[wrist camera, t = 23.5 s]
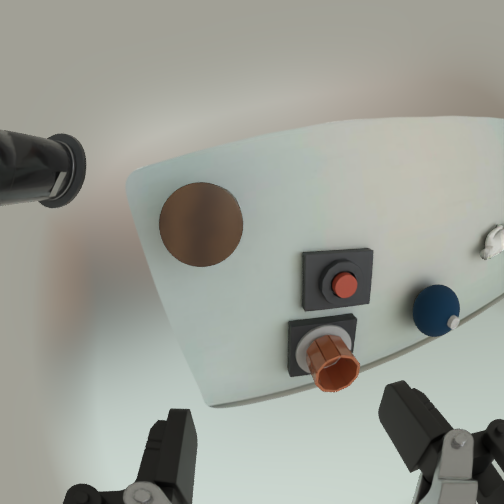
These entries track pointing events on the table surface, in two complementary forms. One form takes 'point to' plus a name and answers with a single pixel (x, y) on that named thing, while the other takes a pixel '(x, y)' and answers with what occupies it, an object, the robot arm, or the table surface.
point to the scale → (312, 329)
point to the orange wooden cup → (327, 354)
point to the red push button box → (326, 269)
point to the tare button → (344, 285)
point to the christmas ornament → (436, 310)
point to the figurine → (493, 243)
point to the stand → (201, 224)
